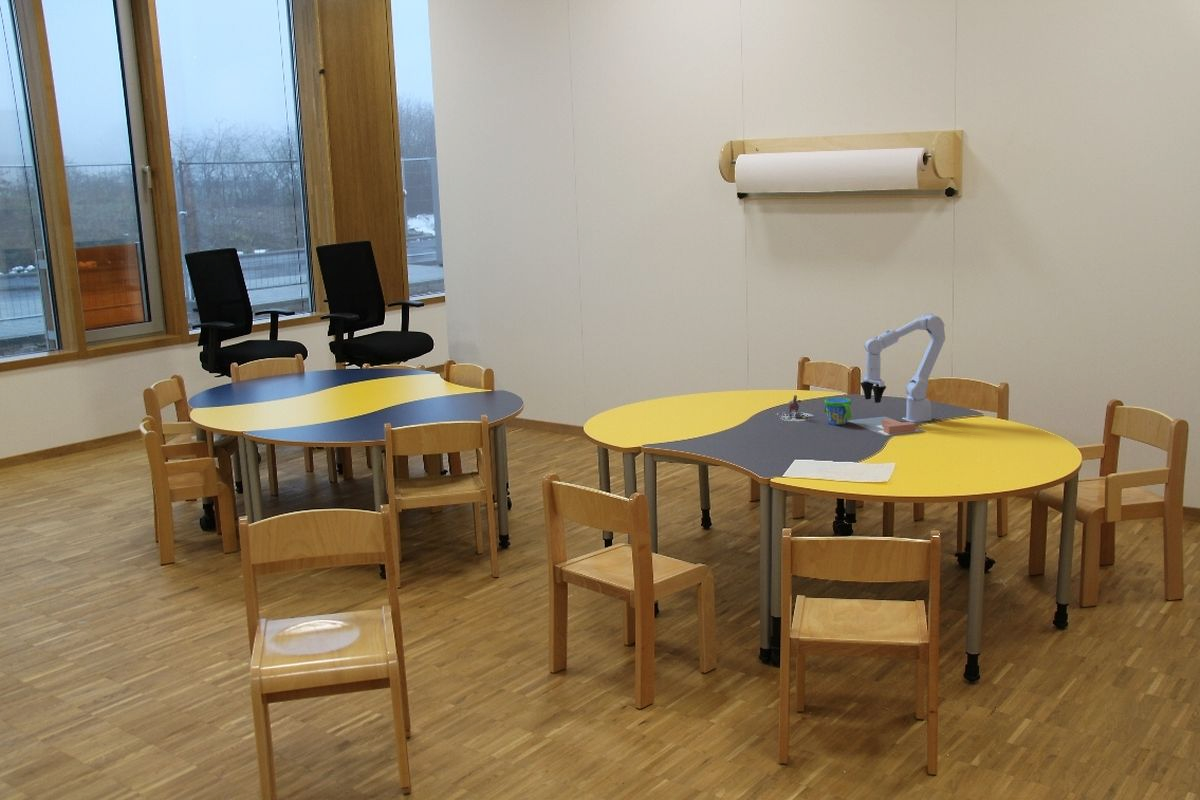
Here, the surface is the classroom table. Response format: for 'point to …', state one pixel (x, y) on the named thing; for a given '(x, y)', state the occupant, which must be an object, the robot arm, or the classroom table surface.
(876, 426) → the t board
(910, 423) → the t block
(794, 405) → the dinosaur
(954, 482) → the classroom table surface
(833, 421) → the snack cup
